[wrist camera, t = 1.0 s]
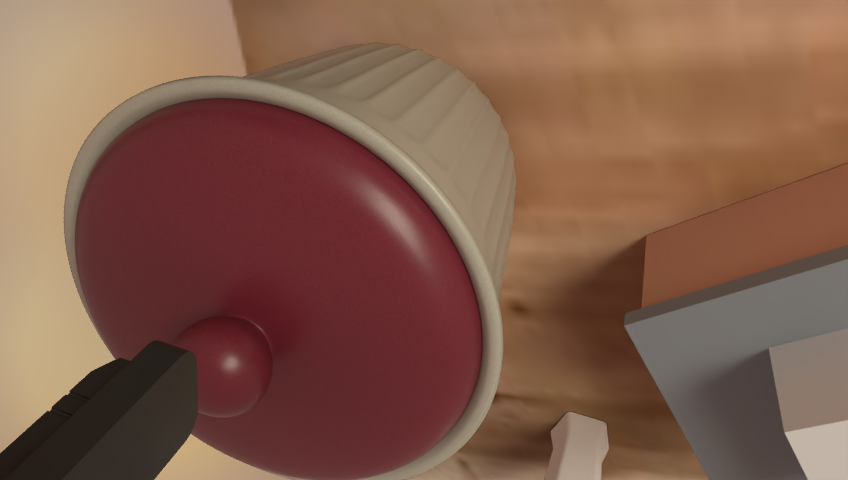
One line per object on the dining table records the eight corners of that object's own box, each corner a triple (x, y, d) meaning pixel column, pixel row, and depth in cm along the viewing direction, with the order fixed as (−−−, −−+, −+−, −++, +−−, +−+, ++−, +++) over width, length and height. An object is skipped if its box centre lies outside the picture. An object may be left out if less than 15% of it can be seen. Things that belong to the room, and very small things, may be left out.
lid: (957, 196, 26) (1039, 298, 20) (1048, 451, 29) (1140, 599, 24) (626, 300, 32) (615, 401, 26) (735, 499, 36) (747, 626, 30)
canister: (509, 327, 44) (398, 650, 26) (252, 228, 46) (-7, 462, 29) (616, 51, 34) (553, 273, 16) (282, -56, 36) (-84, 38, 19)
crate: (896, 145, 32) (954, 224, 25) (977, 359, 36) (1047, 477, 29) (646, 235, 38) (640, 318, 31) (737, 411, 41) (749, 519, 35)
